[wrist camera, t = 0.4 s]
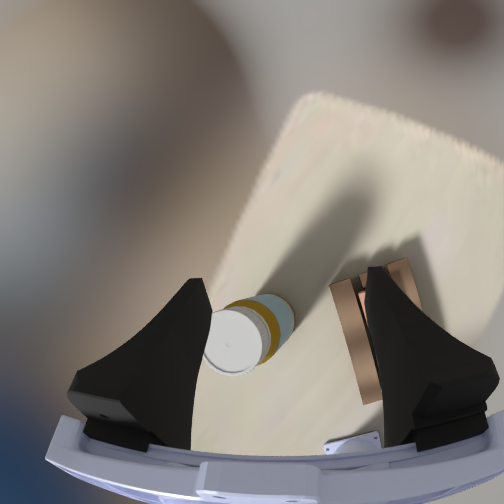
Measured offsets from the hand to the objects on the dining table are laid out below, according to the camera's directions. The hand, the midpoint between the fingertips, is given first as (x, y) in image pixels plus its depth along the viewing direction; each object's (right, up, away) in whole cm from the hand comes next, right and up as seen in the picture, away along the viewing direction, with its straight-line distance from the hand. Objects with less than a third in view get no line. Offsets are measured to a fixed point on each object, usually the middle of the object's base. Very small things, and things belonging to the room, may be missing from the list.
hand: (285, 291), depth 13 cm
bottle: (+1, -7, +27) cm, 28 cm away
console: (+15, -8, +23) cm, 29 cm away
